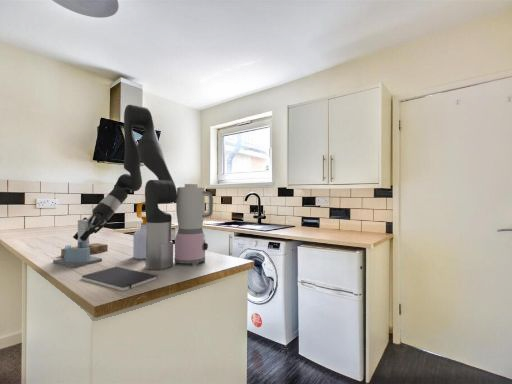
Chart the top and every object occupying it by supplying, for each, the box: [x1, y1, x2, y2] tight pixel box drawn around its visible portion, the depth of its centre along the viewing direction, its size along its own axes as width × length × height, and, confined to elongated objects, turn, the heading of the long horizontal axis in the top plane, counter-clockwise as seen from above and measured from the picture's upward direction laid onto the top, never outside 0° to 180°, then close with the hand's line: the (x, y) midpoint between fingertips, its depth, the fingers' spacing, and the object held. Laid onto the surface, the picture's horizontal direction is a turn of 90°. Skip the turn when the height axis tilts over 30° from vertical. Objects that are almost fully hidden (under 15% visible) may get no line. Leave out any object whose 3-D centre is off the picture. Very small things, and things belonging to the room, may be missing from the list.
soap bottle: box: [132, 201, 146, 260], centre depth 117 cm, size 9×9×25 cm
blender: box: [173, 183, 214, 267], centre depth 109 cm, size 16×12×32 cm
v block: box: [52, 244, 103, 268], centre depth 108 cm, size 15×11×6 cm
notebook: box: [81, 266, 159, 291], centre depth 88 cm, size 13×2×21 cm
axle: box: [77, 219, 90, 248], centre depth 109 cm, size 4×4×14 cm
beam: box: [60, 242, 109, 257], centre depth 122 cm, size 16×8×3 cm, turn 153°
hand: (78, 239), depth 108 cm, fingers closed on axle, 4 cm apart
